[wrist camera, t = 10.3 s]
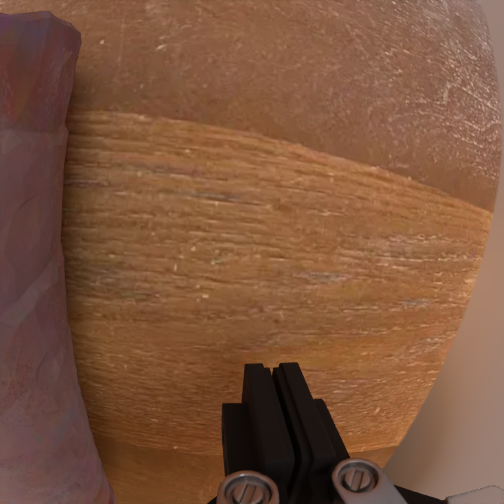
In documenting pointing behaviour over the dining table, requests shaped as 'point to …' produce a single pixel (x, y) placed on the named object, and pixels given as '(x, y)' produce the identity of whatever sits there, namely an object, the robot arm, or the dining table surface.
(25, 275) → the brown tapered cylinder
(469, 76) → the dining table surface
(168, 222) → the dining table surface
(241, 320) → the dining table surface
